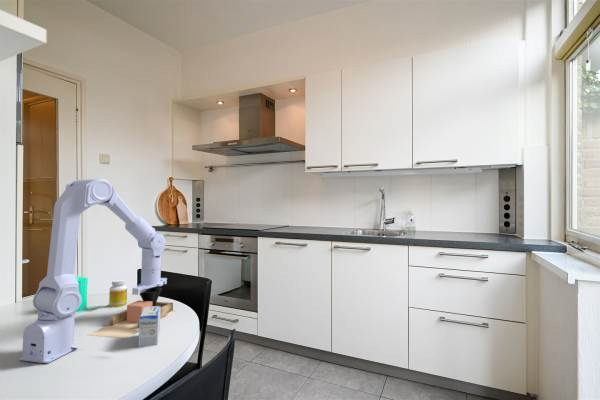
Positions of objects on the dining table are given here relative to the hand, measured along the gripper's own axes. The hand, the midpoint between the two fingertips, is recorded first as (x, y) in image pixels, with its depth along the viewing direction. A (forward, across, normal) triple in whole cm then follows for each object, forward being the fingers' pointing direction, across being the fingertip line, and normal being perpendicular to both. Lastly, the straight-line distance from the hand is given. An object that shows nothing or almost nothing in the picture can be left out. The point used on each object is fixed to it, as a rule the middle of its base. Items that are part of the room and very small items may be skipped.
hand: (149, 311), depth 100 cm
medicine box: (+2, -17, -12) cm, 21 cm away
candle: (+2, +1, +29) cm, 29 cm away
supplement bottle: (+2, +6, +17) cm, 18 cm away
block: (+1, -5, 0) cm, 5 cm away
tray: (+2, -6, 0) cm, 7 cm away
